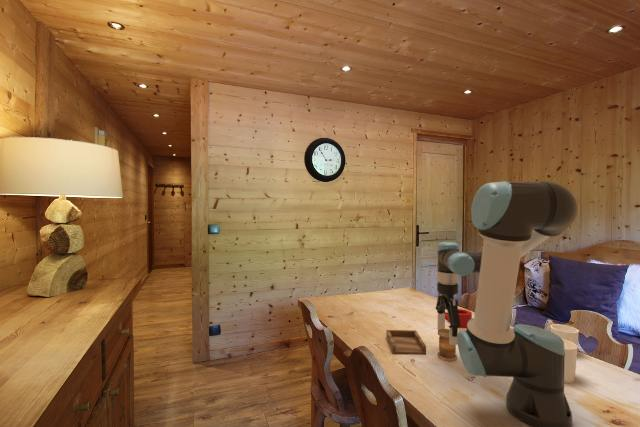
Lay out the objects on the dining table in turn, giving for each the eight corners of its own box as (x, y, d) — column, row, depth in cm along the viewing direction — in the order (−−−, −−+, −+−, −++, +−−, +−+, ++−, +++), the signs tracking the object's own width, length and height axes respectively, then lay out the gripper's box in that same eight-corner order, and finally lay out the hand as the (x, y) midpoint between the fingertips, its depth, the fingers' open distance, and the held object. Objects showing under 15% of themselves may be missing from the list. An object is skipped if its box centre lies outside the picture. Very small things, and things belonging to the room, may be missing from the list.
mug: (566, 360, 121) (567, 333, 121) (544, 350, 130) (544, 325, 129) (588, 357, 124) (588, 330, 124) (565, 347, 132) (565, 322, 132)
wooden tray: (426, 354, 126) (426, 346, 126) (392, 354, 126) (392, 345, 126) (415, 338, 142) (415, 330, 142) (386, 337, 142) (386, 329, 142)
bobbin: (459, 362, 120) (460, 335, 119) (441, 361, 120) (441, 335, 120) (453, 353, 127) (453, 328, 126) (435, 353, 127) (435, 328, 127)
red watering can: (476, 327, 155) (476, 314, 154) (459, 329, 152) (459, 315, 152) (452, 315, 172) (452, 303, 172) (437, 317, 170) (437, 304, 170)
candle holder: (542, 367, 116) (543, 334, 115) (577, 376, 109) (577, 342, 109) (540, 378, 108) (540, 343, 108) (577, 389, 102) (577, 352, 102)
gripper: (471, 291, 110) (470, 351, 111) (446, 275, 135) (445, 324, 136) (449, 291, 111) (448, 351, 111) (428, 274, 135) (427, 324, 136)
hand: (446, 336), depth 124 cm, fingers open, 13 cm apart
